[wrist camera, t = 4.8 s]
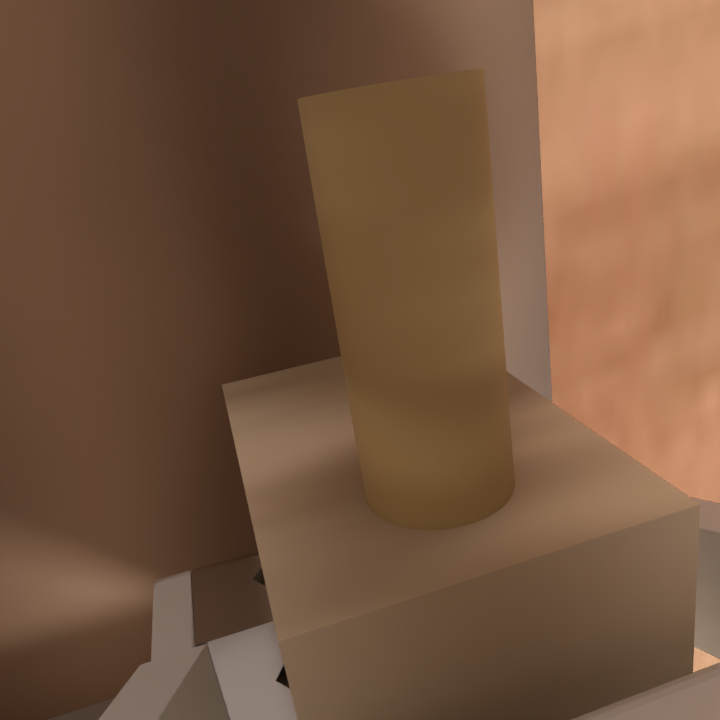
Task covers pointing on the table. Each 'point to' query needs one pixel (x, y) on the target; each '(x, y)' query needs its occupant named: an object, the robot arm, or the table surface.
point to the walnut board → (187, 284)
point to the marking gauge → (444, 459)
